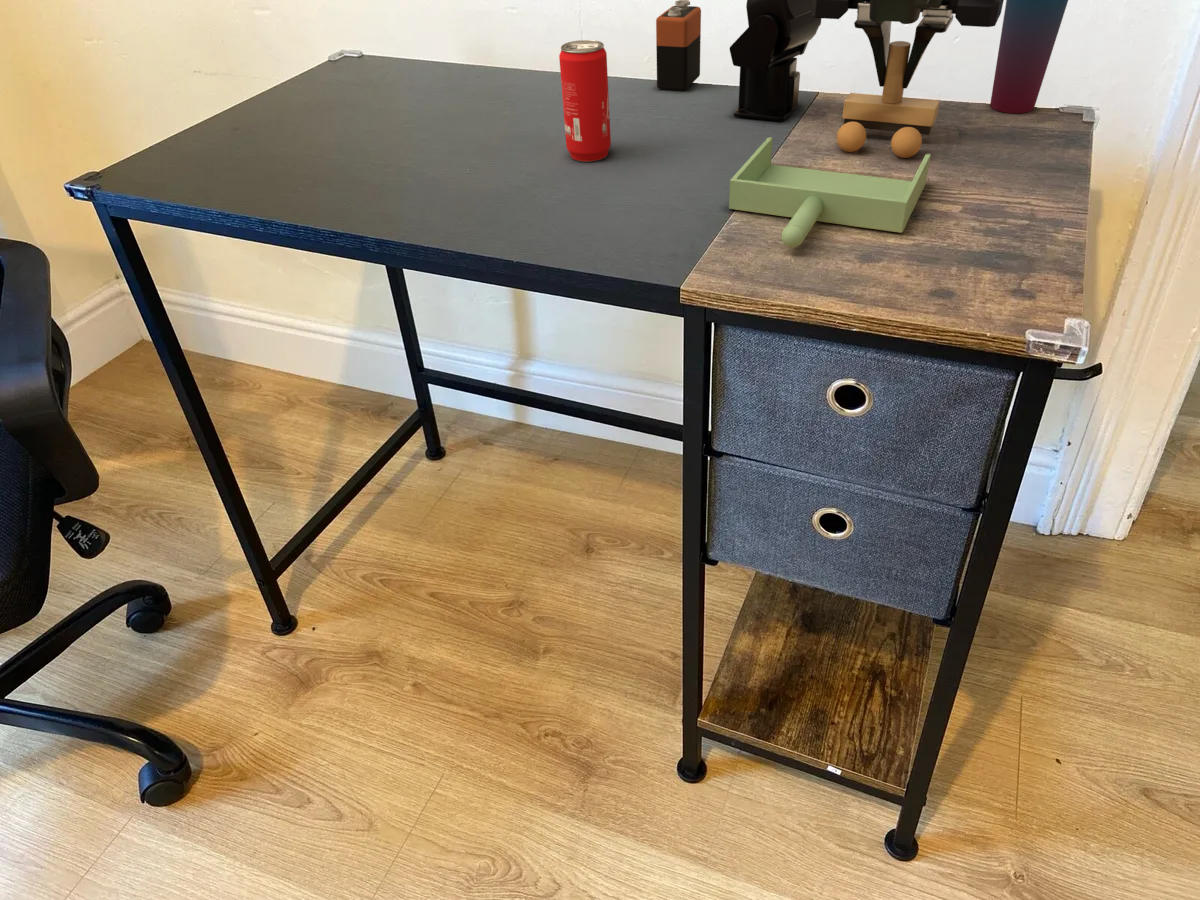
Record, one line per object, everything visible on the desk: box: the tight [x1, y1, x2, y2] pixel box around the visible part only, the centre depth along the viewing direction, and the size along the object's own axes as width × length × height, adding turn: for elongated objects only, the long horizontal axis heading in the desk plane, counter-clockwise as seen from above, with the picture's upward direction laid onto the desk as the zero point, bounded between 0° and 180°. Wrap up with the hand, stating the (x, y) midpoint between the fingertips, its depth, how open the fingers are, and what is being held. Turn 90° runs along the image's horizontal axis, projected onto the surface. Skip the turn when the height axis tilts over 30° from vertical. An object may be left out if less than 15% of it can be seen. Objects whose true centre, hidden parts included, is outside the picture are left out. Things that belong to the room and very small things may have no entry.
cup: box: [989, 0, 1069, 114], centre depth 102 cm, size 7×7×15 cm
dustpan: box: [728, 136, 931, 249], centre depth 86 cm, size 20×17×3 cm
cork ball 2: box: [890, 127, 923, 159], centre depth 96 cm, size 3×3×3 cm
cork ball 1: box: [836, 122, 867, 153], centre depth 98 cm, size 3×3×3 cm
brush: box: [842, 40, 941, 136], centre depth 98 cm, size 10×3×9 cm, turn 64°
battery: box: [655, 0, 702, 91], centre depth 119 cm, size 4×7×10 cm, turn 158°
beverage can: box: [558, 39, 612, 163], centre depth 99 cm, size 5×5×12 cm
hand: (893, 86), depth 98 cm, fingers closed on brush, 2 cm apart
